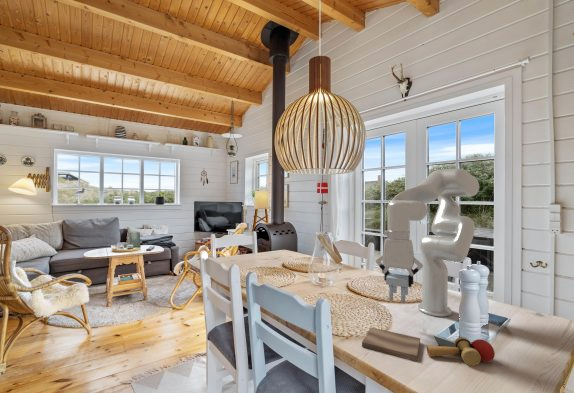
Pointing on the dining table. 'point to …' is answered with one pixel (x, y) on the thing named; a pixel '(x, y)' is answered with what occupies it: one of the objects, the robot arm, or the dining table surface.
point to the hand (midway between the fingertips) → (398, 284)
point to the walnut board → (392, 343)
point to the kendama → (466, 350)
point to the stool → (398, 283)
